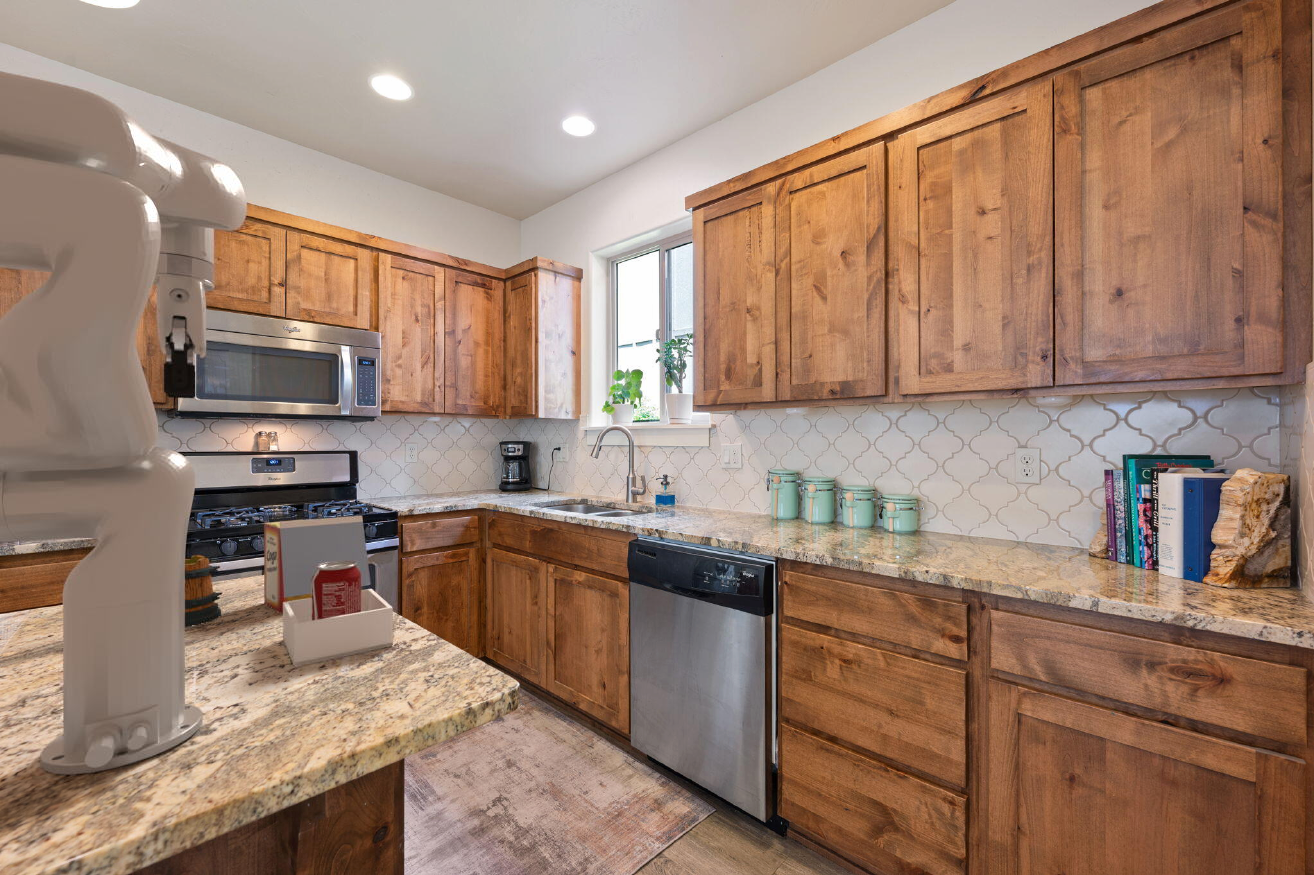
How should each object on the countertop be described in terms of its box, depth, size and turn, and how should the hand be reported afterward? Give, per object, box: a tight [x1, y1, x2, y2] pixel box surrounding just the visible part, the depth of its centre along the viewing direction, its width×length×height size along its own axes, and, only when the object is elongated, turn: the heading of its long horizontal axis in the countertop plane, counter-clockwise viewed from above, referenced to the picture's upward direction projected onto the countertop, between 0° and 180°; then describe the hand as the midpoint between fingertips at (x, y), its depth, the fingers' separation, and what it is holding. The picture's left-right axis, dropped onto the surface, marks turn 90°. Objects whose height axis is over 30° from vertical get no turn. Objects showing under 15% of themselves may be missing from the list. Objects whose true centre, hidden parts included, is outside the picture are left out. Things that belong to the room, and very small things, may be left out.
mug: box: [185, 554, 223, 628], centre depth 100 cm, size 13×10×12 cm
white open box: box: [282, 588, 394, 668], centre depth 90 cm, size 14×13×6 cm
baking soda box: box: [263, 519, 312, 614], centre depth 111 cm, size 10×6×16 cm
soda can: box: [312, 561, 362, 621], centre depth 89 cm, size 7×7×12 cm
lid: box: [279, 515, 372, 598], centre depth 98 cm, size 13×13×1 cm
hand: (180, 396), depth 81 cm, fingers open, 9 cm apart
